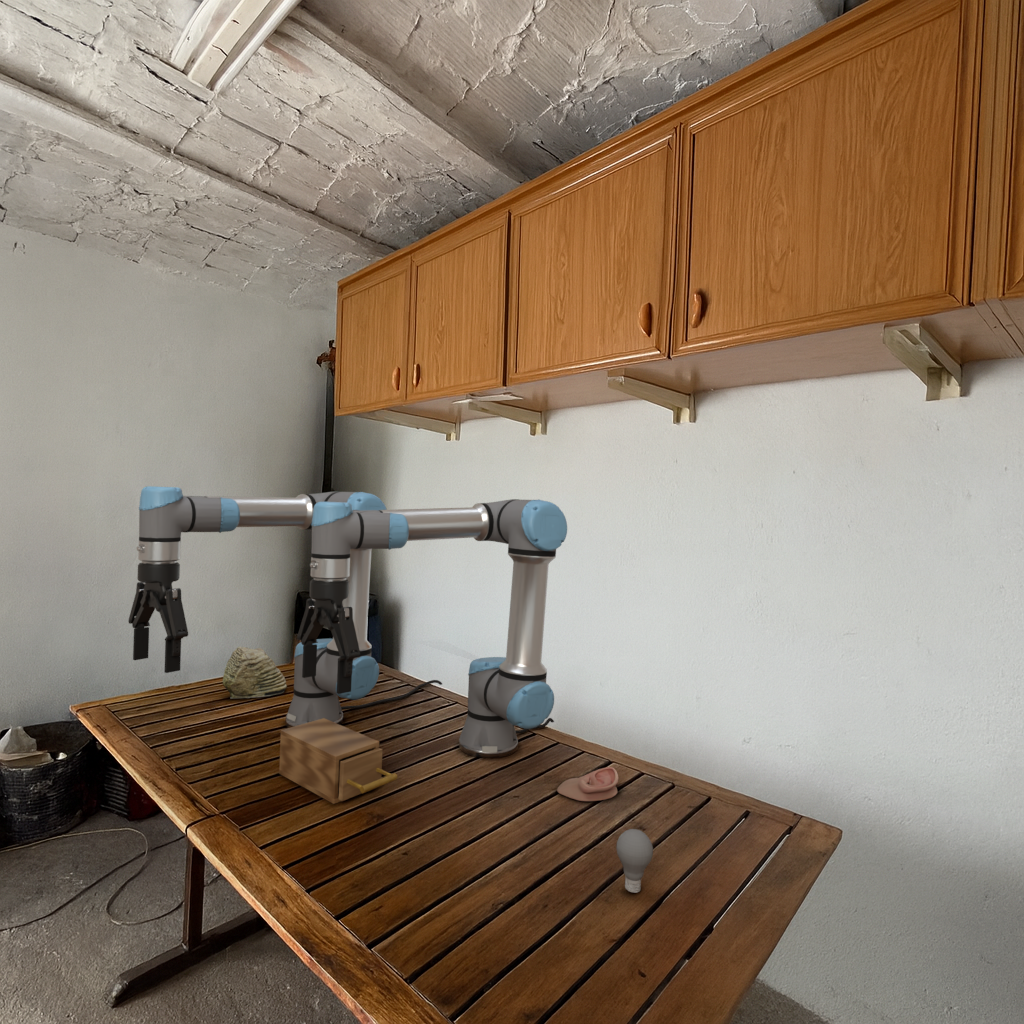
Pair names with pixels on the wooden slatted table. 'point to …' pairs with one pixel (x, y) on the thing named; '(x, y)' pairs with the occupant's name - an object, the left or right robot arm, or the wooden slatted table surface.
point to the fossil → (252, 674)
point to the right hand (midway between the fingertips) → (325, 684)
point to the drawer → (362, 773)
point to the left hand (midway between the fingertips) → (156, 665)
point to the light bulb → (634, 857)
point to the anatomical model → (591, 785)
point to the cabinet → (319, 754)
